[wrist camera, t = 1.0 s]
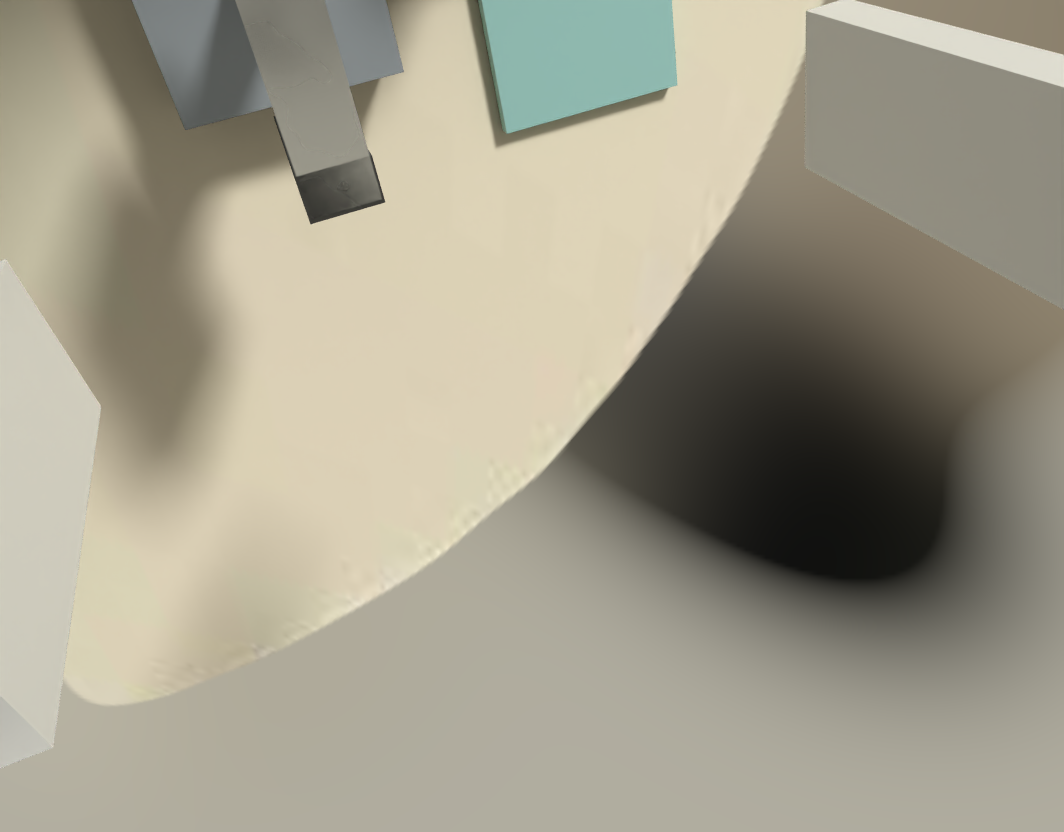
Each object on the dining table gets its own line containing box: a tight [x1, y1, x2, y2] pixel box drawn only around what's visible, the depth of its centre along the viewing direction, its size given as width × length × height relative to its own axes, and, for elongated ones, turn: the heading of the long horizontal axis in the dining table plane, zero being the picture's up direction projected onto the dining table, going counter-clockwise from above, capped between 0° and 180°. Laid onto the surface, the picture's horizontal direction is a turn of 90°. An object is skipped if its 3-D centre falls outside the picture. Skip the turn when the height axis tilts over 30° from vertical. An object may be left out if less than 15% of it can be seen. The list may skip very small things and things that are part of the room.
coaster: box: [478, 0, 677, 134], centre depth 34 cm, size 8×8×1 cm
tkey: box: [235, 0, 385, 224], centre depth 23 cm, size 8×2×11 cm, turn 12°
